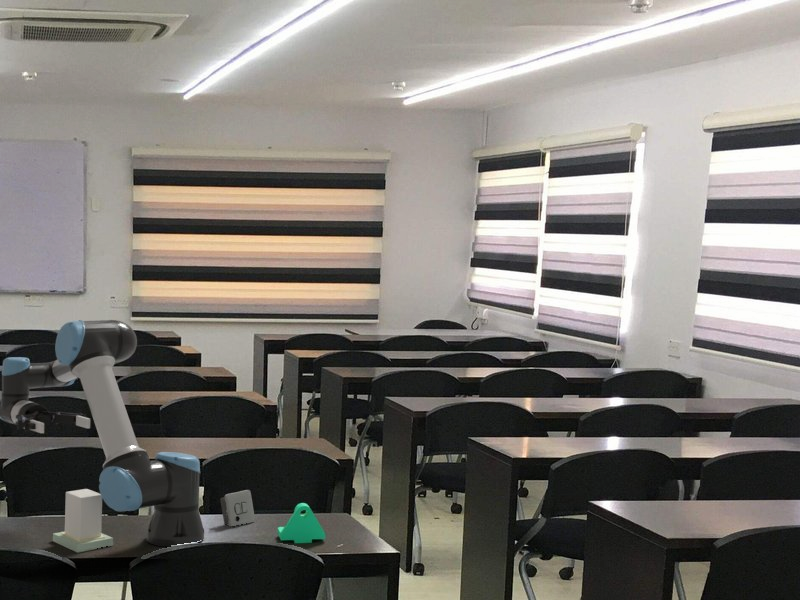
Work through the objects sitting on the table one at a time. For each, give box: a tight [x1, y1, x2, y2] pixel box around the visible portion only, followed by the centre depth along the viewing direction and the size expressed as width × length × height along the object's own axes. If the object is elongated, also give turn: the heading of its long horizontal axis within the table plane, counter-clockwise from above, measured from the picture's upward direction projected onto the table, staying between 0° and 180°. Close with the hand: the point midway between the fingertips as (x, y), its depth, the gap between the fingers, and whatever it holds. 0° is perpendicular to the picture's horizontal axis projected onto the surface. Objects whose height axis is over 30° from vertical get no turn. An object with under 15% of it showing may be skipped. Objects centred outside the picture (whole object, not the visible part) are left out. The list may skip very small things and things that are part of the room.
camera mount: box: [277, 502, 326, 544], centre depth 273 cm, size 12×8×10 cm, turn 104°
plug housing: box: [64, 488, 103, 540], centre depth 261 cm, size 8×6×11 cm
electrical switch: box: [220, 489, 256, 527], centre depth 287 cm, size 9×5×9 cm, turn 141°
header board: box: [52, 530, 114, 553], centre depth 261 cm, size 13×10×6 cm
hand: (66, 425), depth 274 cm, fingers open, 13 cm apart
